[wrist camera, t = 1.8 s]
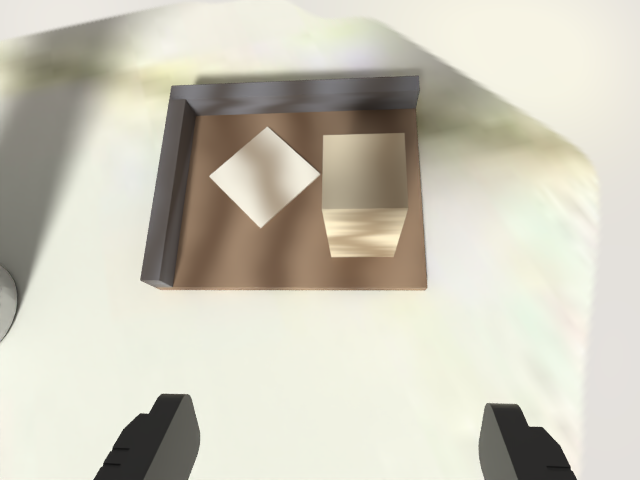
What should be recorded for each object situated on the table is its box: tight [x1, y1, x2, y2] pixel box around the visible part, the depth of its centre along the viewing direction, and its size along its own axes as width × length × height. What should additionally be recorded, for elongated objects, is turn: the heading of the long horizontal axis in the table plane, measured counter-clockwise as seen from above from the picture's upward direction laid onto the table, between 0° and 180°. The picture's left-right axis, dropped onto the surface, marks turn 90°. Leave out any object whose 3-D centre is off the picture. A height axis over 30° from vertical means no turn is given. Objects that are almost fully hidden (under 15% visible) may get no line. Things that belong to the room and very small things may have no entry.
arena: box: [140, 76, 427, 290], centre depth 35 cm, size 22×18×4 cm
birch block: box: [322, 133, 408, 257], centre depth 30 cm, size 5×5×10 cm
